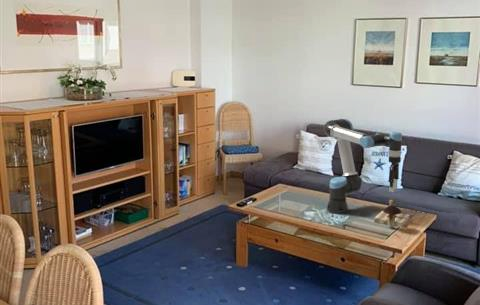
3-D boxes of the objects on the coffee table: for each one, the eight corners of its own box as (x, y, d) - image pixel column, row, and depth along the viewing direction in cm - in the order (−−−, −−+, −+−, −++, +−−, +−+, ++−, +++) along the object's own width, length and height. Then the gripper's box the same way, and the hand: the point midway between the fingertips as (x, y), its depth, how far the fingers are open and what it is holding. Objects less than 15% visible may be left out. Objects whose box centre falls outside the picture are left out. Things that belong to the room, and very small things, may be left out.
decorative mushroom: (380, 225, 321) (381, 203, 318) (396, 224, 322) (397, 202, 319) (386, 231, 311) (387, 208, 308) (403, 230, 312) (404, 207, 309)
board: (373, 222, 327) (374, 218, 327) (382, 214, 342) (382, 210, 341) (401, 227, 318) (401, 222, 317) (408, 219, 332) (409, 214, 332)
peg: (387, 221, 329) (388, 200, 326) (389, 219, 333) (390, 199, 330) (393, 222, 327) (394, 201, 324) (395, 220, 330) (396, 200, 328)
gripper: (396, 159, 311) (394, 194, 315) (404, 154, 327) (403, 187, 332) (384, 158, 315) (382, 193, 319) (393, 152, 331) (391, 185, 336)
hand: (393, 190), depth 326 cm, fingers open, 7 cm apart
